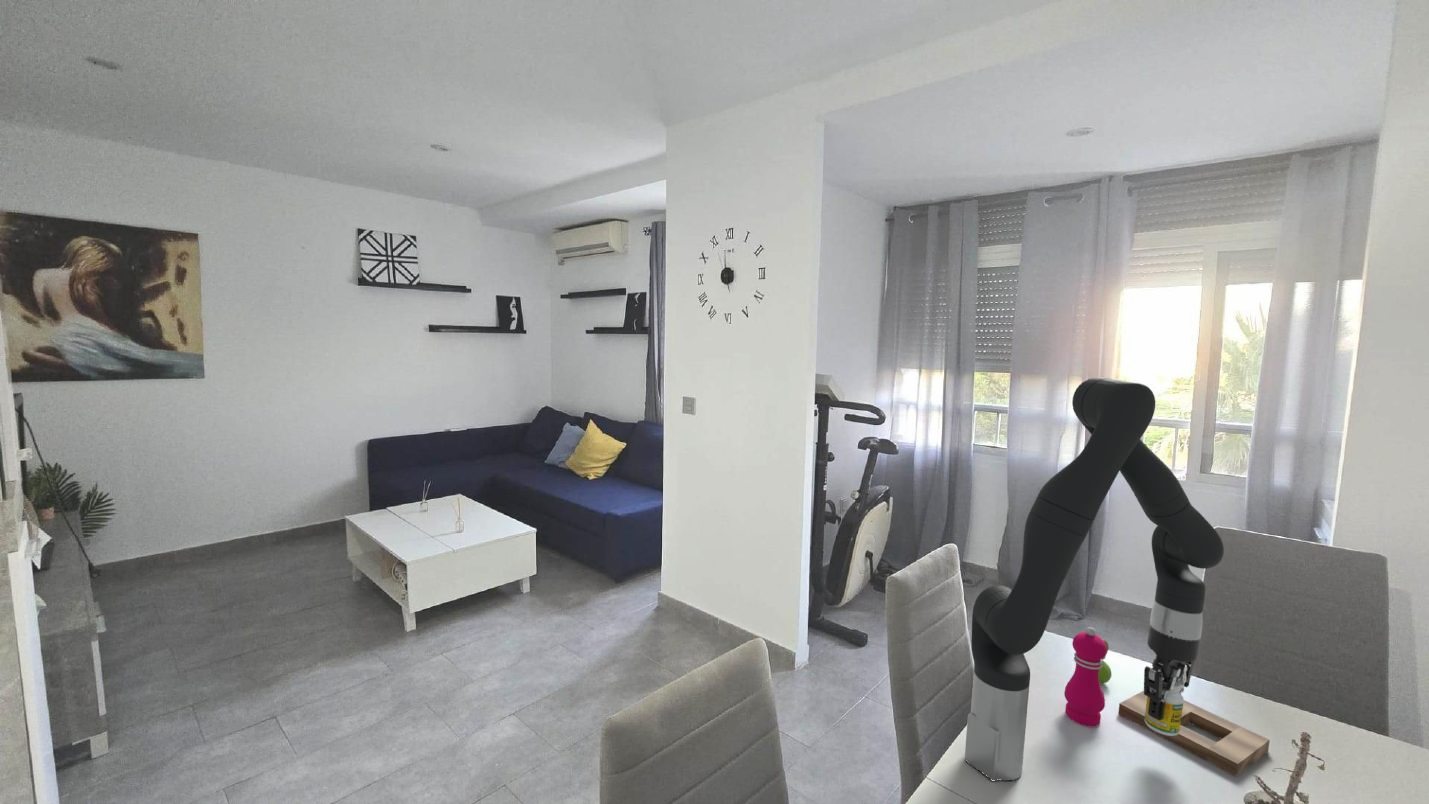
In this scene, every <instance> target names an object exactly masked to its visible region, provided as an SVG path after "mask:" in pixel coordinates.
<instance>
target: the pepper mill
mask: <svg viewBox="0 0 1429 804" xmlns="http://www.w3.org/2000/svg"><path fill="white" fill-rule="evenodd" d="M1102 639H1103V638H1101V637H1100V636H1099V635H1097V631H1096V629H1095V628H1094V627H1092V626H1087V627H1086V629H1085V632H1084V631H1083V632H1079V633H1077V634H1076V635H1074V637H1073V639H1072V644H1071V645H1072V648H1073V650H1074V653H1073V655H1074V657H1073V661H1074V663H1075V668H1074V669H1075V670H1074V672H1073V675H1072V676H1071V677H1070V679H1069V681H1068V682H1067V683H1066V685H1065V688H1064V698H1065V700H1066V701H1067V702H1066V704H1065V711H1064V712H1065V715H1066V716H1067V718H1069V719H1070V721H1073V722H1074V723H1076V724H1079V725H1081V726H1083V727H1089V728H1090V727H1091V728H1093V727H1095V728H1096V727H1098V726H1100V724H1101V719H1102V718H1101V717H1102V716H1101V715H1102V714H1101V712H1102V711H1103V710H1104V708H1105V706H1106V698H1105V694H1104V692H1103V689H1102V687H1101V684H1099V669H1101V668H1102V663H1103V661H1104V660H1103V661H1102V658H1104V657H1105V655H1106V656H1107V654H1106V652H1107V649H1106V645H1105V643H1104V641H1103V640H1102ZM1107 653H1108V652H1107ZM1105 658H1106V657H1105Z"/></svg>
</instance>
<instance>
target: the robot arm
mask: <svg viewBox="0 0 1429 804" xmlns="http://www.w3.org/2000/svg"><path fill="white" fill-rule="evenodd" d="M1071 400H1072V403H1071V404H1072V410H1073V412H1074V414H1075V416H1076V418H1077V419H1078V420H1079V422H1080V423H1081V425H1083V426H1084V428H1085V429H1086V431H1088V432H1089V434H1090V437H1089V439H1088V441H1087V443H1086V444H1085V446H1084V448H1083V449H1082V450H1081V452H1080V453H1079V454H1078V456H1076V457H1075V459H1073V460H1072V461H1071V462H1070V463H1068V464H1067V465H1066V466H1064V467H1063V468H1062V469H1061V470H1059V472H1057V473H1055V475H1053V476H1052V477H1051V478H1050V479H1049V480H1048V481H1047V482H1046V483H1045V484H1044V485H1043V486H1042V487H1041V489H1040V491H1039V492H1038V494H1037V496H1036V498H1035V501H1034V502H1033V505H1032V506H1031V508H1030V511H1029V512H1028V514H1027V517H1026V521H1025V525H1024V532H1023V541H1022V543H1023V544H1022V545H1023V546H1022V560H1021V561H1022V562H1021V567H1020V570H1019V573H1018V576H1017V578H1016V581H1015V583H1014V585H1013V587H1012V589H1011V588H1009V587H1008V586H1004V585H992V586H988V587H987V588H985V589H983V590H982V591H981V592H980V593H979V594H978V596H977V597H976V598H975V601H974V605H973V608H972V613H971V614H972V617H971V618H972V619H971V641H970V643H971V645H970V647H971V654H972V658H973V663H974V665H973V667H974V668H973V677H972V680H973V682H972V691H971V692H972V694H971V703H970V712H969V713H968V714H967V723H966V734H965V735H966V736H965V737H966V738H965V749H964V751H965V752H964V761H965V760H967V761H968V762H969V763H970V764H971V765H973V766H974V767H975V768H976V769H975V768H974V767H973V766H972V767H973V768H974V769H975V770H977V769H978V770H980V771H981V772H983V773H984V774H985V775H987V776H988V777H989V778H990V779H992V780H997V779H1001V780H1000V781H1002V780H1012V781H1016V780H1018V779H1019V778H1020V777H1021V776H1022V773H1023V764H1024V755H1025V754H1024V753H1025V752H1024V751H1025V742H1026V729H1027V717H1028V715H1027V714H1028V706H1029V703H1028V702H1029V694H1030V685H1031V684H1030V683H1031V682H1030V681H1031V669H1030V666H1029V664H1028V661H1027V658H1026V657H1025V653H1028V652H1030V651H1032V649H1034V648H1035V647H1036V646H1037V645H1038V643H1039V642H1040V641H1041V639H1042V637H1043V636H1044V633H1045V630H1046V628H1047V625H1048V623H1049V620H1050V617H1051V615H1052V611H1053V609H1054V606H1055V603H1056V600H1057V597H1058V595H1059V593H1060V590H1061V588H1062V585H1063V583H1064V581H1065V579H1066V577H1067V575H1068V573H1069V571H1070V569H1071V567H1072V564H1073V563H1074V560H1075V558H1076V556H1077V554H1078V552H1079V550H1080V549H1081V546H1082V544H1083V542H1084V541H1085V539H1086V537H1087V536H1088V533H1089V531H1090V529H1091V527H1092V526H1093V524H1094V521H1095V519H1096V517H1097V515H1098V512H1099V510H1100V509H1101V506H1102V504H1103V502H1104V500H1105V498H1106V496H1107V495H1108V493H1109V491H1110V489H1111V487H1112V486H1113V483H1114V482H1115V480H1116V479H1117V476H1118V474H1119V473H1120V474H1121V475H1122V477H1123V478H1124V480H1125V481H1126V483H1127V485H1128V486H1129V488H1130V489H1131V491H1132V493H1133V495H1134V496H1135V499H1136V500H1137V502H1138V504H1139V505H1140V507H1141V509H1142V511H1143V512H1144V514H1145V515H1146V517H1147V519H1149V521H1150V522H1151V523H1153V524H1155V525H1156V527H1155V528H1154V530H1153V533H1152V536H1151V551H1152V556H1153V562H1154V568H1155V569H1154V570H1155V573H1156V577H1157V582H1156V588H1155V596H1154V601H1153V604H1152V609H1151V613H1150V620H1149V629H1148V635H1147V636H1148V637H1147V646H1148V647H1149V649H1151V651H1153V652H1154V653H1155V655H1156V656H1155V658H1154V659H1153V661H1152V665H1151V667H1150V666H1147V665H1146V666H1145V667H1144V671H1143V672H1144V673H1143V691H1144V695H1146V696H1148V697H1150V702H1149V709H1148V714H1149V715H1150V716H1152V717H1154V718H1156V719H1157V720H1162V719H1163V717H1164V710H1165V701H1166V698H1167V695H1168V692H1169V691H1172V690H1173V688H1174V685H1175V681H1179V682H1180V683H1181V691H1180V692H1179V693H1180V694H1181V695H1182V694H1183V693H1184V692H1185V688H1188V687H1190V681H1191V678H1192V672H1193V669H1194V664H1195V661H1197V660H1198V658H1199V653H1200V645H1201V639H1202V631H1203V613H1204V604H1205V598H1206V584H1205V583H1204V581H1203V580H1202V579H1201V578H1199V577H1198V576H1197V575H1196V574H1195V573H1194V572H1192V571H1191V569H1190V567H1193V568H1197V569H1204V570H1205V569H1211V568H1214V567H1216V566H1218V565H1219V563H1220V562H1221V561H1222V559H1223V557H1224V552H1225V548H1224V543H1223V539H1222V538H1221V537H1220V535H1219V533H1218V531H1217V530H1216V529H1215V528H1214V527H1213V525H1211V523H1209V521H1208V520H1207V519H1206V518H1205V517H1204V516H1203V514H1201V512H1200V511H1198V509H1196V508H1195V507H1194V506H1193V505H1192V503H1191V502H1190V500H1189V498H1188V495H1187V494H1186V492H1185V490H1184V489H1183V486H1182V484H1181V483H1180V481H1179V479H1178V478H1177V477H1176V475H1175V474H1174V472H1173V470H1171V469H1170V467H1168V466H1167V464H1165V462H1164V461H1163V460H1162V459H1160V457H1158V455H1156V454H1155V452H1153V451H1152V449H1151V448H1149V447H1148V446H1147V445H1146V444H1145V443H1144V442H1143V440H1142V437H1143V436H1144V434H1145V432H1146V431H1147V429H1148V427H1149V425H1150V423H1151V422H1152V420H1153V417H1154V415H1155V410H1156V397H1155V394H1154V393H1153V391H1152V389H1151V388H1150V387H1149V386H1147V385H1146V384H1144V383H1141V382H1136V381H1131V380H1126V379H1119V378H1111V377H1110V378H1109V377H1091V378H1088V379H1086V380H1084V381H1082V382H1081V383H1080V384H1079V385H1078V386H1077V387H1076V389H1075V391H1074V392H1073V396H1072V399H1071ZM1189 566H1190V567H1189ZM1162 681H1164V682H1167V683H1168V685H1165V684H1163V683H1162ZM1162 688H1163V692H1162ZM1155 690H1156V692H1155ZM969 763H968V764H969ZM970 764H969V765H970ZM971 765H970V766H971ZM978 770H977V771H978ZM981 772H980V773H981ZM985 775H984V776H985ZM989 778H988V779H989ZM1017 778H1018V779H1017ZM990 779H989V780H990ZM1015 779H1016V780H1015ZM997 781H998V780H997Z"/></svg>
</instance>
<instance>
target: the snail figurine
mask: <svg viewBox="0 0 1429 804" xmlns="http://www.w3.org/2000/svg"><path fill="white" fill-rule="evenodd" d="M1101 639H1102V640H1103V641H1104V643H1105V645H1106V649H1107V652H1106V655H1105V657H1104V658H1102V661H1103V663H1102V668H1101V669H1099V684H1100V685H1102V684H1103V685H1104V684H1106V683H1108V682H1110V680H1111V678H1112V670H1111V667H1110V666H1109V665H1108V663H1107V662H1106V661H1104V660H1105V659H1106V656H1107V653H1108V651H1109V643H1108V641H1107V640H1106V639H1103V638H1101Z"/></svg>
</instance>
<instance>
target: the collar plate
mask: <svg viewBox="0 0 1429 804" xmlns="http://www.w3.org/2000/svg"><path fill="white" fill-rule="evenodd" d="M1146 704H1147V696H1146V695H1144V690H1142V691H1140V692H1138V693H1137V694H1135V695H1133V696H1131V697H1129V698H1126V699H1125V700H1123V701H1122V702H1121V701H1120V703H1119V704H1118V715H1119V716H1121V717H1123V718H1124V719H1126V720H1128V721H1130V722H1132V723H1135V724H1136V725H1137V726H1140V727H1142V728H1143V729H1145V730H1148V731H1149V732H1150V733H1153V734H1155V735H1157V736H1158V737H1161V738H1162V739H1164V740H1166V741H1168V742H1170V743H1172V744H1173V745H1176V747H1179V748H1181V749H1183V750H1185V751H1187V752H1189V753H1191V754H1193V755H1195V756H1197V757H1199V758H1200V759H1202V760H1205V761H1206V762H1208V763H1210V764H1212V765H1213V766H1216V767H1218V768H1219V769H1222V770H1223V771H1225V772H1227V773H1228V774H1230V775H1232V776H1234V777H1238V776H1239V775H1240V774H1242V773H1243V772H1244V771H1245V770H1247V769H1248V768H1249V767H1251V766H1252V765H1253V764H1254V763H1255V762H1258V760H1259V759H1262V757H1264V755H1266V754H1267V753H1268V752H1269V747H1270V739H1269V738H1267V737H1264V736H1262V735H1260V734H1258V733H1256V732H1253V730H1249V729H1247V728H1246V727H1244V726H1241V725H1239V724H1236V723H1234V722H1232V721H1230V720H1228V719H1226V718H1223V717H1222V716H1219V715H1217V714H1215V713H1212V712H1211V711H1208V710H1206V709H1204V708H1202V707H1201V706H1197V705H1195V704H1193V703H1191V702H1189V701H1187V700H1185V699H1184V703H1183V709H1182V717H1181V724H1180V730H1179V734H1178V735H1176V736H1167V735H1163V734H1161V733H1158V732H1156V731H1154V730H1152V729H1151V728H1149V727H1148V726H1147V724H1146V723H1145V720H1144V719H1145V711H1146ZM1188 724H1191V725H1193V726H1195V727H1197V728H1198V729H1201V730H1203V731H1205V732H1207V733H1210V734H1211V735H1213V736H1215V737H1217V738H1220V740H1218V741H1217V742H1216V741H1214V740H1212V739H1210V738H1208V737H1205V736H1204V735H1202V734H1199V733H1198V732H1196V731H1193V730H1192V729H1190V728H1188V727H1186V725H1188Z"/></svg>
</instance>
